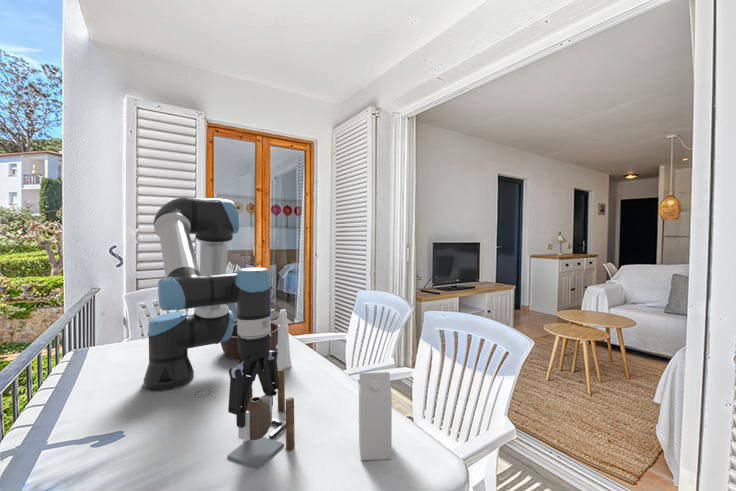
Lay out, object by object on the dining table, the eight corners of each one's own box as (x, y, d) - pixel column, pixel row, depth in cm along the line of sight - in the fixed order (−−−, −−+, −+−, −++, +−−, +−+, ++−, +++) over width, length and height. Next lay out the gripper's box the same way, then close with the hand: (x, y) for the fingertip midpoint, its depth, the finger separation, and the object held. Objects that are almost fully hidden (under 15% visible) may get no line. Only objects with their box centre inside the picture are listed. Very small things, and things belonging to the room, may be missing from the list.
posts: (243, 435, 87) (242, 389, 87) (280, 407, 101) (280, 368, 100) (291, 451, 81) (290, 402, 81) (324, 419, 95) (324, 377, 94)
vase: (276, 428, 84) (275, 393, 83) (262, 446, 77) (261, 407, 76) (250, 425, 85) (250, 391, 85) (234, 442, 78) (234, 404, 78)
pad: (227, 458, 79) (227, 455, 79) (255, 436, 87) (255, 434, 87) (257, 469, 75) (257, 466, 75) (283, 445, 83) (283, 443, 83)
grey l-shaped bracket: (241, 430, 90) (241, 426, 90) (258, 418, 95) (258, 414, 95) (271, 440, 86) (271, 435, 85) (287, 426, 91) (287, 422, 91)
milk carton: (358, 442, 85) (358, 367, 84) (387, 440, 85) (387, 366, 85) (360, 461, 78) (360, 379, 77) (391, 459, 78) (391, 378, 77)
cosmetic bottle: (274, 364, 134) (273, 308, 133) (289, 362, 136) (289, 307, 135) (277, 370, 128) (276, 312, 127) (293, 367, 131) (292, 310, 130)
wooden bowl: (257, 338, 165) (257, 318, 165) (292, 349, 151) (292, 326, 150) (207, 354, 145) (207, 330, 145) (242, 368, 130) (242, 341, 130)
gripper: (233, 350, 69) (236, 459, 70) (293, 325, 87) (294, 412, 88) (207, 345, 72) (209, 450, 73) (270, 322, 90) (271, 406, 91)
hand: (256, 429), depth 81 cm, fingers closed on vase, 7 cm apart
